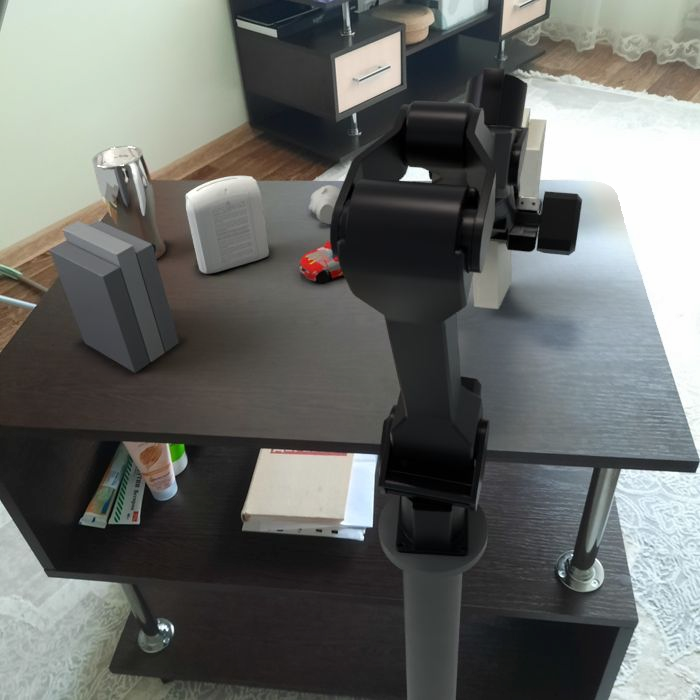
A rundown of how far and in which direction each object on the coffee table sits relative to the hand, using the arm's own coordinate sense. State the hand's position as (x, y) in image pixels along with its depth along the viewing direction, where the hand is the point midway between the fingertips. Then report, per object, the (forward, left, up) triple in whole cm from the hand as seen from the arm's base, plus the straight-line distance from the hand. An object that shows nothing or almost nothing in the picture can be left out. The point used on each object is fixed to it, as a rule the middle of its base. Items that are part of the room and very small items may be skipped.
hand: (493, 237), depth 87 cm
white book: (-2, 0, -7) cm, 7 cm away
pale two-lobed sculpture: (+20, +24, -9) cm, 33 cm away
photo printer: (+7, +35, -9) cm, 37 cm away
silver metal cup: (+9, +49, -9) cm, 51 cm away
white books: (+20, -3, -8) cm, 22 cm away
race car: (+6, +19, -9) cm, 22 cm away
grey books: (-11, +44, -8) cm, 46 cm away
